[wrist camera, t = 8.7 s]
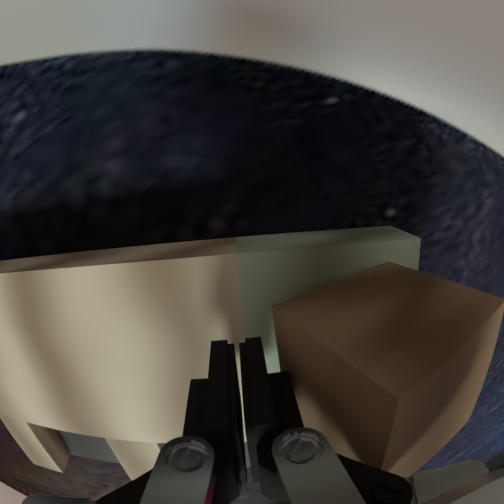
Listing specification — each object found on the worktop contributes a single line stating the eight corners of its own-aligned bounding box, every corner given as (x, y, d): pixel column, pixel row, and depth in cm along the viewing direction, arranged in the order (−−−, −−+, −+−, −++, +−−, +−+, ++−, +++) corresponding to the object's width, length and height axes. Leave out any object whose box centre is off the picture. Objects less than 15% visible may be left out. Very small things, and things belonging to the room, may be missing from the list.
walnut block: (388, 261, 11) (506, 299, 6) (383, 367, 12) (468, 420, 7) (271, 305, 9) (398, 398, 4) (286, 419, 10) (367, 508, 6)
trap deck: (391, 225, 13) (420, 238, 10) (358, 443, 17) (369, 469, 14) (-36, 265, 12) (-62, 278, 9) (44, 443, 16) (33, 463, 13)
